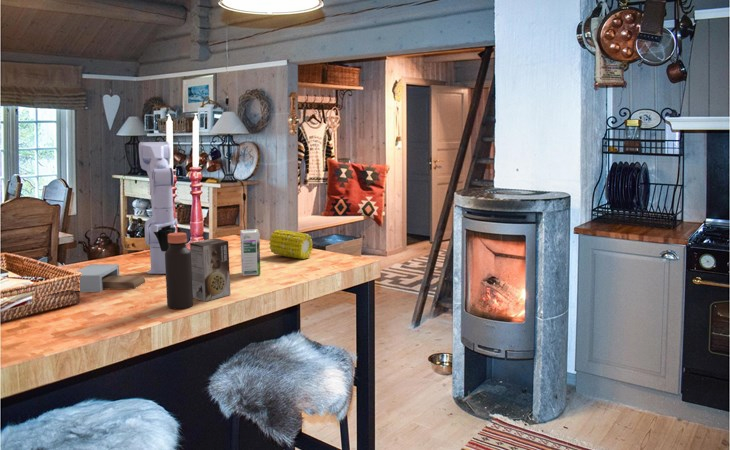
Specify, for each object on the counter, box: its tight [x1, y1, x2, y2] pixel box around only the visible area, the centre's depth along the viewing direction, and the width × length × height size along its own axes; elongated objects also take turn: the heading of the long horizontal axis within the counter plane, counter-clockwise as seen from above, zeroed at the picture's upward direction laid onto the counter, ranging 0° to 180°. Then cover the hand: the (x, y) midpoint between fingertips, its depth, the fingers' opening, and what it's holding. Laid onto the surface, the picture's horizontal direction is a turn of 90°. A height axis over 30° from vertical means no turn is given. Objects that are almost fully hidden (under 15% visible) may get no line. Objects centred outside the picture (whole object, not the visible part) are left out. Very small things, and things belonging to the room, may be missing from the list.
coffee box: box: [189, 237, 231, 302], centre depth 186 cm, size 9×6×16 cm
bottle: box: [165, 231, 194, 310], centre depth 176 cm, size 7×7×20 cm
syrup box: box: [240, 228, 261, 277], centre depth 213 cm, size 6×6×14 cm
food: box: [269, 229, 313, 260], centre depth 239 cm, size 15×12×10 cm
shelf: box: [76, 263, 120, 293], centre depth 198 cm, size 9×14×5 cm, turn 179°
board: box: [102, 275, 146, 290], centre depth 199 cm, size 16×8×2 cm, turn 86°
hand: (165, 251), depth 201 cm, fingers closed
